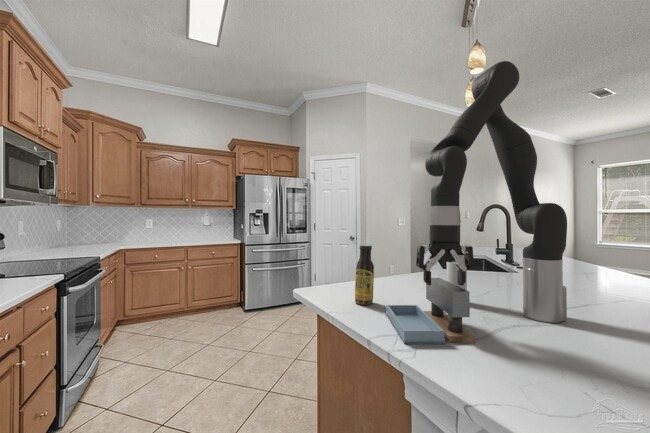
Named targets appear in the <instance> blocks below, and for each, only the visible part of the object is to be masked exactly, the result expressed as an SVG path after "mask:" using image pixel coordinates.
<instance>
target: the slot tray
mask: <svg viewBox="0 0 650 433" xmlns="http://www.w3.org/2000/svg"><path fill="white" fill-rule="evenodd" d="M385 311H386V312H385V313H386V314H385V315H386V317H387V319H388V320H389V323H390V324H391V325H392V326H393V327H392V328H394V330H395V332H396V333H397V335H398V337H399V338H400V339H401V341H402V343H403V344H404V345H445V340H446V339H445V338H444V330H443V329H442V328H441V327H440V326H439V325H437V324H436V323H435V322H434V321H433V320H432V319H431V318H430V317H429V316H428V315H427V314H426V313H425V312H424V311H425V310H423V309H422V308H421V307H420V306H419V305H417V304H386V305H385Z"/></svg>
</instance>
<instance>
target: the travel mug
mask: <svg viewBox="0 0 650 433" xmlns="http://www.w3.org/2000/svg"><path fill="white" fill-rule="evenodd" d="M460 246H462V245H461V244H460ZM458 256H459V258H460V259H461V260H462V262H463V264H465V261H464V254H463V253H462V251H461V252H460V254H459V255H458ZM458 270H459V269H458V268H457V266H456V265H455V264H454V263H453V262H446V281H448V282H450V283H452V284H454V285H456V286H458V287H460V288H463V289H465V290H467V288H468V283H467V281H468V275H467V274H468V270H467V271H466V282H465V283H464V285H463V286H460V285H458V283H457V274H458ZM467 291H468V290H467Z"/></svg>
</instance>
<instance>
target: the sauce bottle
mask: <svg viewBox="0 0 650 433" xmlns="http://www.w3.org/2000/svg"><path fill="white" fill-rule="evenodd" d="M372 248H373V247H372V245H370V244H360V245H359V259H358V260H357V263H356V268H355V279H354V280H355V282H354V283H355V284H354V302H355V303H356V304H358V305H361V306H362V305H363V306H369V305H372V304H373V301H374V285H375V284H374V280H375V272H374V271H375V266H374V263H373V260H372Z"/></svg>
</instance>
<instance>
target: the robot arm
mask: <svg viewBox="0 0 650 433" xmlns="http://www.w3.org/2000/svg"><path fill="white" fill-rule="evenodd" d="M519 81H520V72H519V69H518V67H517V66H516V65H515V64H514V63H513V62H511V61H508V60H502V61H499V62H497V63H495V64H493V65H491V66H490V67H489V68H487V69H486V70H485V71H484V72H482V73H481V74H480V75H478V76H477V77H475V79H474V80H473V81H472V83H471V93H472V97H473V100H474V101H473V102H472V103H471V104H469V106H468V107H467V108H466V109H465V110H464V111H463V112H462V113H461V114H460V116H458V118H457V119H456V120H455V122H454V123H453V125H452V126H451V128H450V129H449V131H448V133H447V135H445V137H443V138H442V139H441V140H440V141H439V142H438V143H437V144H436V145H435V146H434V147H433V148H432V149H431V150H430V152H429V153H428V154H427V157H426V159H425V162H424V163H425V164H424V166H425V171H426V172H427V173H428V174H429V175H430V176H432V177H441V180H440V181H439V182H438V183H436V184H435V185H433V186H432V187H431V190H430V212H429V244H428V245H422V244H418V245H417V248H416V261H415V266H416V267H417V268H419V269H420V270H421V269H422V270H423V279H422V280H423V283H425V285H426V284H427V285H431V278H432V271H431V270H432V268H433V267H434V266H435V265H436V264H437V263H447V262H453V263H454V264H455V265H456V266H457V268H458V269H459V270H458V274H457V283H458V285H460V286H463V285H464V283H465V282H466V271H467V272H468V271H469V270H473V269H474V268H475V263H474V248H473V246H471V245H461V224H462V221H461V211H460V191H461V188H462V184H463V180H464V176H465V173H466V170H467V165H468V159H467V155H466V152H467V150H469V149H470V148H471V147H472V145H473V144H474V142H475V141H476V139H477V137H478V136H479V135H480V132H481V131H482V130H483V128H484V126H486V128H487V130H488V133H489V136H490V138H491V141H492V144H493V147H494V150H495V154H496V156H497V159H498V163H499V165H500V168H501V170H502V173H503V176H504V179H505V182H506V186H507V189H508V192H509V196H510V199H511V203H512V209H513V213H514V218H515V221H516V224H517V226H518V228H519V229H520V230H521V231H522V232H524V233H525V234H529V235H533V236H532V237H533V238H532V242H531V243H530V244H528V245H527V246H525V247H523V249H522V314H523V316H524V317H526V318H528V319H531V320H535V321H538V322H545V323H555V324H556V323H558V324H559V323H562V322H566V321H568V318H567V317H568V314H567V313H568V308H567V305H568V303H567V301H568V300H567V294H568V293H567V291H568V290H567V287H566V286H565V285H564V284H563V283H564V280H563V278H564V277H563V276H564V275H563V274H564V271H563V255H564V253H565V250H566V247H567V239H568V238H567V237H568V236H567V234H568V232H567V231H568V218H567V213H566V211H565V209H564V208H563V207H562V206H561V205H559V204H558V203H554V202H543V203H540V202H539V199H538V197H537V193H536V189H535V186H534V185H535V175H536V171H537V166H538V154H537V151H536V148H535V145H534V143H533V140H532V137H531V134H529V133H528V131H526V130H525V129H524V128H523V127H521V126H520V125H519V124H518V123H516V122H514V121H513V120H512V119H511V118H509V116H507V115H506V113H505V112H504V110H503V107H502V103H503V102H504V101H505V100H506V99H507V98H508V96H510V95H511V93H512V92H513V91H515V89H516V88H517V86H518V85H519ZM460 245H461V246H460ZM461 251H462V253H463V254H464V261H465V264H463V262H462V260H461V259H460V258H459V256H458V255H459V254H460V252H461ZM428 252H429V254H430V256H429V257H428V258H427V259H426V262H425V255H426V254H427V253H428Z"/></svg>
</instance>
